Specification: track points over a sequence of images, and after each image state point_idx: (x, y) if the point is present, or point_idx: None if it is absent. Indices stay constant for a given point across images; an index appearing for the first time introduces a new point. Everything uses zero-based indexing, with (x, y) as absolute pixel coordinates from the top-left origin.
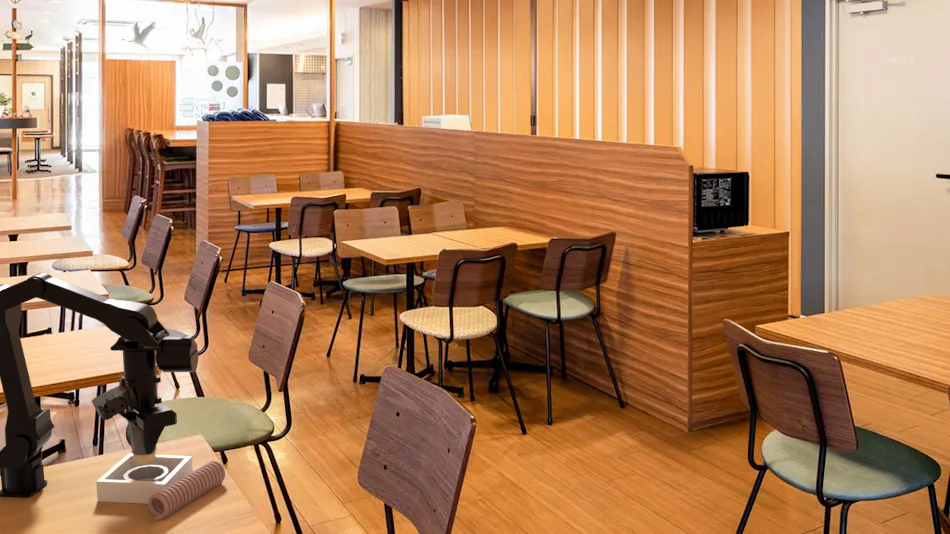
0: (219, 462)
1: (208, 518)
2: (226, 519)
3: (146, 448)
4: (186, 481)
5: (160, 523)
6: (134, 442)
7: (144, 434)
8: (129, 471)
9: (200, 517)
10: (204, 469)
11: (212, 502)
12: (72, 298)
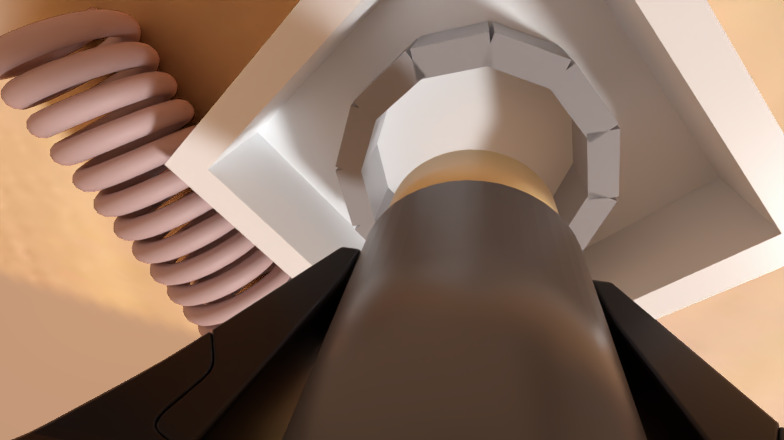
0: None
1: (35, 181)
2: (10, 217)
3: (295, 279)
4: (139, 251)
5: (44, 9)
6: (416, 259)
7: (90, 409)
8: (592, 121)
9: (52, 165)
10: None
11: None
12: None
